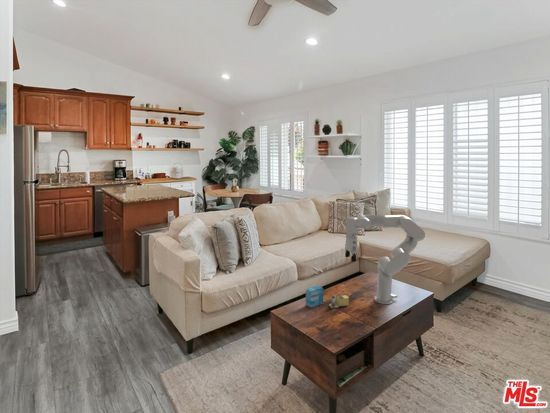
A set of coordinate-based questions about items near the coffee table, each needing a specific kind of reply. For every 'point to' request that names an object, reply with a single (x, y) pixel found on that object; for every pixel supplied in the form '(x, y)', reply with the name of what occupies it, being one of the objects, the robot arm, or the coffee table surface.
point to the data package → (314, 296)
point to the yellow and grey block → (342, 300)
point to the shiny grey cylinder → (333, 300)
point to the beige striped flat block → (333, 306)
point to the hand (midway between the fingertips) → (350, 259)
